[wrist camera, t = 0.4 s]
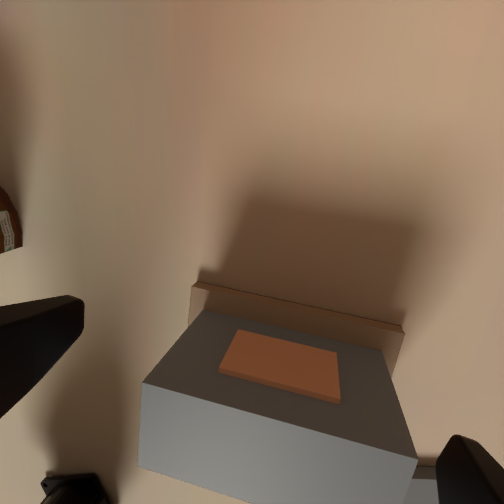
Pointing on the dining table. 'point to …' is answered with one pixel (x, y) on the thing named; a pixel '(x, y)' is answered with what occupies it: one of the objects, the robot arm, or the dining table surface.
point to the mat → (422, 487)
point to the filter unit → (278, 404)
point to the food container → (9, 224)
